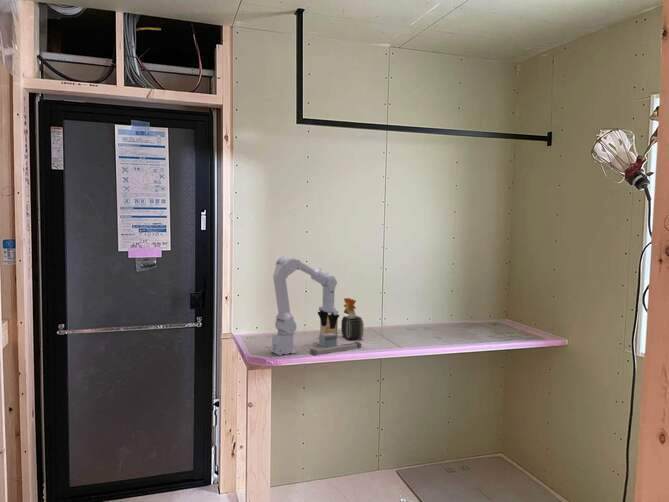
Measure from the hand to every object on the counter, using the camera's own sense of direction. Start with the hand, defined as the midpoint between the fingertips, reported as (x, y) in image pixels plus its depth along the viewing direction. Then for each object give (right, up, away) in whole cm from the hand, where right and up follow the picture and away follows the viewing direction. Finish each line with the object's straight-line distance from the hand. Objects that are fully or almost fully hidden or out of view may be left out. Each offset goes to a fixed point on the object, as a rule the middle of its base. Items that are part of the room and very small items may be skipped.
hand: (328, 327), depth 234 cm
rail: (+4, -10, -9) cm, 14 cm away
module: (0, -9, 0) cm, 9 cm away
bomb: (+12, -9, +18) cm, 23 cm away
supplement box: (0, -9, +16) cm, 18 cm away
